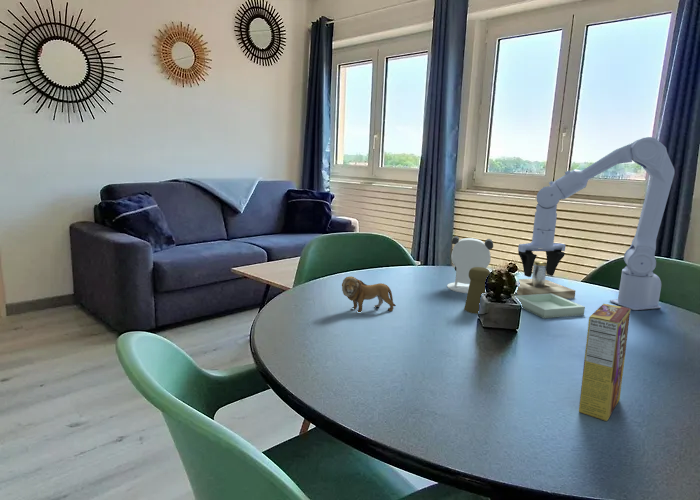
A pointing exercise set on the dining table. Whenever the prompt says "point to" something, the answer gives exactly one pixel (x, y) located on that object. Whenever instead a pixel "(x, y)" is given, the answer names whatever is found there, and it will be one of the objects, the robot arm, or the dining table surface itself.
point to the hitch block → (545, 289)
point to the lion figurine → (366, 292)
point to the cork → (475, 288)
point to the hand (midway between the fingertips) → (538, 275)
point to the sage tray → (550, 305)
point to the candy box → (604, 361)
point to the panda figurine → (468, 260)
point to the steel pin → (539, 274)
